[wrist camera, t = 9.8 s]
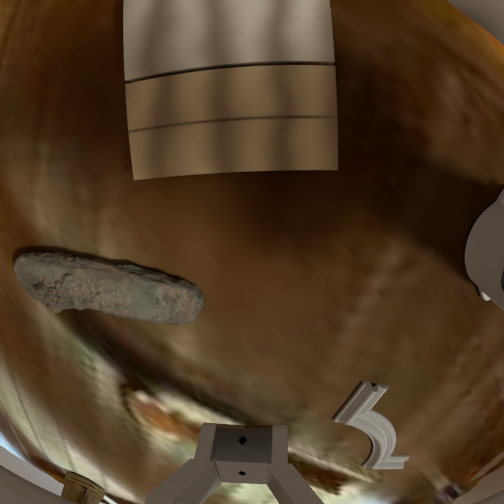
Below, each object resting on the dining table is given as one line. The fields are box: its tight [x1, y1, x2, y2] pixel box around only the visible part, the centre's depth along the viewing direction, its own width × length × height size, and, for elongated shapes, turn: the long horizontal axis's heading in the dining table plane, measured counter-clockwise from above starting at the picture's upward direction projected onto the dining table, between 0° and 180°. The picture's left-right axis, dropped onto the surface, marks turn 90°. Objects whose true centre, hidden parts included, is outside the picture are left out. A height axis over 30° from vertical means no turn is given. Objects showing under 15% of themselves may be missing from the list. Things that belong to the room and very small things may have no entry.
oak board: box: [125, 65, 338, 180], centre depth 33 cm, size 24×12×3 cm, turn 93°
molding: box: [334, 381, 409, 469], centre depth 56 cm, size 42×12×3 cm, turn 28°
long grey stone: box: [14, 252, 204, 326], centre depth 44 cm, size 35×5×10 cm
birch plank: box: [123, 0, 335, 82], centre depth 28 cm, size 24×12×2 cm, turn 93°
